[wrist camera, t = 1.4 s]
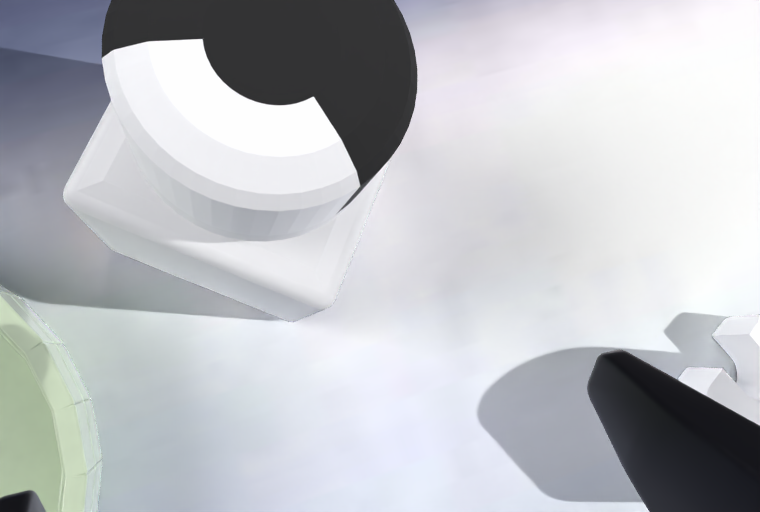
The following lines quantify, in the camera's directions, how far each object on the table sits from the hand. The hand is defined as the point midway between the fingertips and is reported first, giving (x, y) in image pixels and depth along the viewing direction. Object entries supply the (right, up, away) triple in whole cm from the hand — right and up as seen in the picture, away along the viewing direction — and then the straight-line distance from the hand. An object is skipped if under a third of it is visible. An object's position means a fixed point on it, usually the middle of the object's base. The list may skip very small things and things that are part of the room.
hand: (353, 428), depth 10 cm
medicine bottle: (-5, +5, +13) cm, 15 cm away
